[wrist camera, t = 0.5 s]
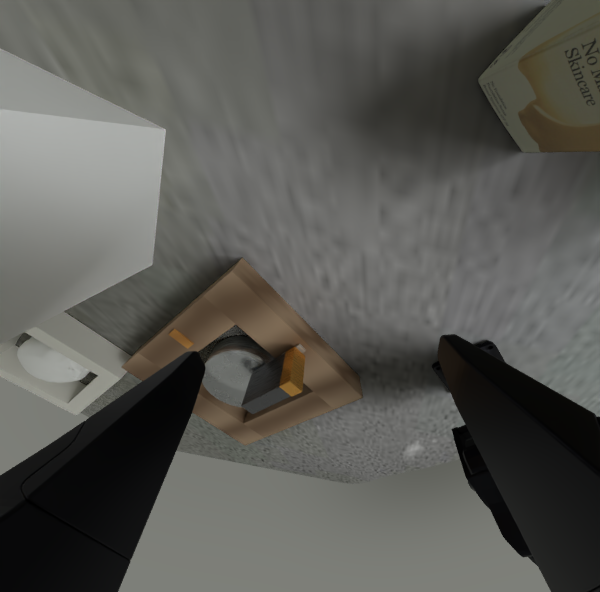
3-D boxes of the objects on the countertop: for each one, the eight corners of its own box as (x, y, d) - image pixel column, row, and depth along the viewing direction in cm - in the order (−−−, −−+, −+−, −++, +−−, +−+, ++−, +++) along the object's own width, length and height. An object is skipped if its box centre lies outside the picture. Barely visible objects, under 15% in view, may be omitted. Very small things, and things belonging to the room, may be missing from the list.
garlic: (93, 337, 29) (65, 359, 26) (107, 372, 33) (84, 396, 30) (30, 326, 29) (-6, 346, 26) (51, 362, 33) (21, 385, 29)
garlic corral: (137, 360, 30) (120, 378, 28) (93, 397, 36) (76, 415, 33) (26, 286, 26) (-7, 300, 23) (-6, 342, 31) (-35, 358, 28)
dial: (248, 395, 32) (230, 453, 26) (197, 357, 29) (162, 412, 23) (327, 354, 27) (328, 413, 21) (274, 302, 24) (257, 354, 17)
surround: (359, 376, 29) (363, 399, 26) (250, 425, 36) (244, 446, 34) (242, 257, 22) (231, 271, 19) (138, 349, 29) (119, 368, 27)
